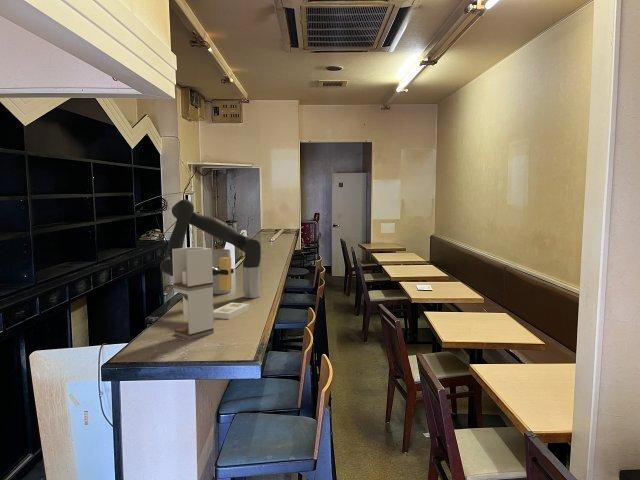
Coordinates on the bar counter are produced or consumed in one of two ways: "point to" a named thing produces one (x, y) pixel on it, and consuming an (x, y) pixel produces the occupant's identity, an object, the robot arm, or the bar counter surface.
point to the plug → (225, 279)
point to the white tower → (194, 289)
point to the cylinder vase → (215, 262)
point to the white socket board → (230, 310)
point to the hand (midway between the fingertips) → (230, 271)
